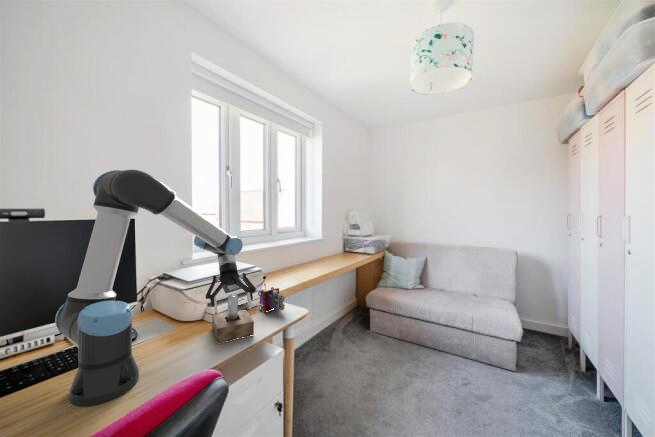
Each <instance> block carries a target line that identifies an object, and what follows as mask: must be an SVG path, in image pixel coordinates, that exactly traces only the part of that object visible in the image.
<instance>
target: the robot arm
mask: <svg viewBox="0 0 655 437" xmlns="http://www.w3.org/2000/svg"><path fill="white" fill-rule="evenodd" d="M92 192H93V194H94V202H93V207H92V208H94V209H95V211H96V212H97V215H96V218H95V222H94V225H93V228H92V232H91V236H90V238H89V243H88V247H87V249H86V252H85V258H84V261H83V264H82V268H81V271H80V275H79V279H78V282H77V286H76V288H75V289H74V290H73V289H72V291H70V292H69V293H68V294H67V295H66V296H67V297H66V300H65V303H63V304H62V305H61V306H60V307H59V309H58V310H57V312H56V314H55V318H54V322H55V326H56V328H57V330H58V332H59V333H60V334H61V335H63V336H64V337H66V338H68V339H69V340H71V341H72V342H73V343H74V344H76V345H77V348H78V349H77V350H78V352H77V355H78V356H77V358H78V359H77V360H78V368H77V371H76V373H75V376H74V379H73V380H72V383H71V386H70V389H69V402H70V403H71V404H72V405H74V406H77V407H88V406H89V407H91V406H96V405H99V404H104V403H106V402H109V401H111V400H114V399H115V398H116V399H117V398H118V397H120V396H123V395H124V394H125V393H127V392H129V391H130V390H131V389H133V387H134V386H136V384H137V383H138V381H139V377H140V369H139V367H138V365H137V362H136V360H135V357H134V356H133V313H132V312H133V310H132V307H131V305H130V304H129V303H127V302H125V301H121V300H116V298H117V293H116V291H114V290H113V287H114V282H115V279H116V275H117V271H118V267H119V264H120V261H121V257H122V252H123V249H124V246H125V245H124V244H125V240H126V237H127V234H128V230H129V226H130V222H131V219H132V218H133V217H135V216H136V215H138V213H139V210H140V209H144V210H146V211H148V212H149V213H151V214H153V215H156V216H158V215H161V216H163V217H164V218H166V219H168V220H169V221H171V222H172V223H174V224H175V225H177V226H179V227H181V228H182V229H184V230H186V231H187V232H189V233H191V234H192V235H194V236H195V237H194V239H193V243H194V245H195V246H196V247H198V248H199V249H202V250H204V251H207V252H210V253H212V254H215V255H217V260H218V270H219V276H216V275H213V277H212V282H211V283H210V285H209V288H208V290H207V291H206V294H205V299H206V300H208V299H209V300H210V307H212V308H213V311H214V315H217V314H218V302H217V296H218V294H219V293H220V292H221V290H222V289H223V288H224V286H226V287H229V286H232V285H234V284H235V285H236V286H239V287H240V288H241V289H243V290H244V291H245V292H246V293H247V300H248V304H247V305H248V310H251V309H252V307H253V303H252V301H253V299H254V297H253V294H254V293H255V292H256V290H257V289H256V287H255V286H254V284H253V283H252V282H251V281H250V278H249V279H248V278H247V277H246V276H247V275H246V273H245V272H243V273H241V274H239V272H238V271H239V270H238V266H237V259H236V255H238V254H239V253H241V251H242V249H243V244H244V243H243V240H242V239H241V237H237V236H232V235H231V234H229V233H228V232H226V231H224V230H223V229H222V228H220V227H219V226H218V225H216V224H215V223H213V222H212V221H211V220H209V219H208V218H207V217H205V216H204V215H202V214H201V213H199V212H198V211H196V210H195V209H194V208H192V207H191V206H190V205H189V204H187V203H186V202H184V201H183V200H181V199H180V198H178V197H177V193H176V192H175V190H173V189H171V188H170V187H168V186H167V185H166V184H164V183H163V182H161V181H160V180H158V179H157V178H155V177H154V176H152V175H151V174H149V173H147V172H144V171H142V170H139V169H126V170H118V169H117V170H115V169H114V170H110V171H109V170H108V171H107V172H104V173H101V174H100V175H99V176H98V177H97V178H96V179H95V180H94V183H93V186H92ZM239 278H240V279H243V281H244V283H245V284H246V285H247V286H248V287H247V286H246V285H245V284H243V283H242V282H241V281H240V280H239ZM218 281H219V282H220V283H219V285H218V286H217V287H216V288H215V285H216V283H217V282H218ZM214 288H215V290H214V291H213V289H214Z"/></svg>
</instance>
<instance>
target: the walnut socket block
mask: <svg viewBox="0 0 655 437" xmlns="http://www.w3.org/2000/svg"><path fill="white" fill-rule="evenodd" d="M211 316H212V317H211V329H212V332H213V336H214V339H215V343H216V344H217V345H219V344H218V343H220V344H224V343H227V342H226V341H229V342H231V341H230V340H233V339H237V338H242V337H247V336H250V335H254V333H255V332H254V331H255V328H254V326H255V322H254V319H253V318H252V317H251V315H250V314H249V312H248V311H247V309H240V310H239V309H238V320H236V321H231V322H228V311H227V312H221V313H217V315H215V314H212V315H211ZM247 338H248V337H247ZM242 339H243V338H242ZM233 341H234V340H233ZM223 342H224V343H223Z"/></svg>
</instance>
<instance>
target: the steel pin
mask: <svg viewBox="0 0 655 437" xmlns="http://www.w3.org/2000/svg"><path fill="white" fill-rule="evenodd" d="M238 311H239V305H238V295H235V294H234V295H231V294H230V295H228V296H227V312H228V322H231V321H236V320H238Z"/></svg>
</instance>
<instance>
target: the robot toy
mask: <svg viewBox="0 0 655 437" xmlns="http://www.w3.org/2000/svg"><path fill="white" fill-rule="evenodd" d="M262 279H263V280H264V281H266V279H267V275H263V276H262ZM263 286H264V288H265V289H264V288H262V289H260V290H261V291H260V290H258V292H257V295H258V296H259V305H258V310H259V311H263V312H264V314H267V313H266V311H269V310H271V309H273V308H274V309H277V310H278V311H284V310H285V309H286V304H285V303H284V302H285V300H286V297H285V296H284V294H282V293H280V288H279V287H278V288H275V287H273V286H272V287H271V288H270V289H269V290H267V289H266V283H264V285H263Z"/></svg>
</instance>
